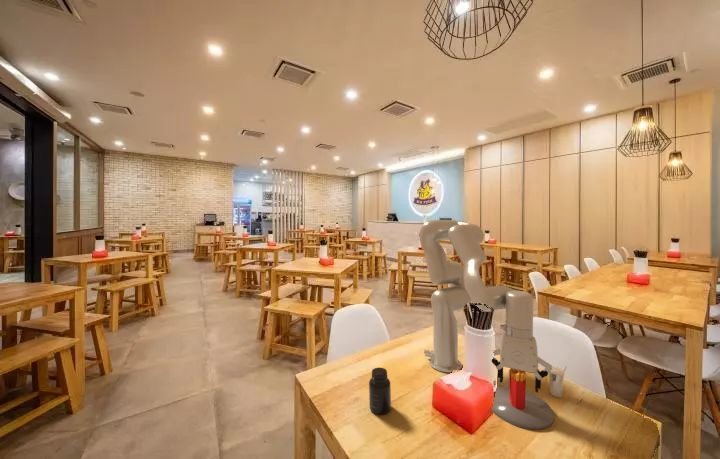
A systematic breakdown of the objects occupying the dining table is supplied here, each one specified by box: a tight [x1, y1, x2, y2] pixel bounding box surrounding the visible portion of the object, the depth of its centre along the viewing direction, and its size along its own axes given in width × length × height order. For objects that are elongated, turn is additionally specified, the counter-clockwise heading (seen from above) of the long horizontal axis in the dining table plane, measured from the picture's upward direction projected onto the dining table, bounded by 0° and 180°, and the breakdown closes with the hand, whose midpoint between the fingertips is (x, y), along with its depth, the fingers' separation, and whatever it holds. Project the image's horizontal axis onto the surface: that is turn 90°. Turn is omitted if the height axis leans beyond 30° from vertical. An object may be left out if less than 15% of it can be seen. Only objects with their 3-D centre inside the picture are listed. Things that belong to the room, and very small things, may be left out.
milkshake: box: [548, 366, 567, 398], centre depth 94 cm, size 4×5×10 cm
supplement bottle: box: [368, 367, 392, 416], centre depth 88 cm, size 7×7×12 cm
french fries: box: [508, 368, 527, 410], centre depth 88 cm, size 8×4×12 cm, turn 161°
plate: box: [490, 386, 555, 431], centre depth 88 cm, size 18×18×2 cm
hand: (518, 385), depth 87 cm, fingers open, 9 cm apart
